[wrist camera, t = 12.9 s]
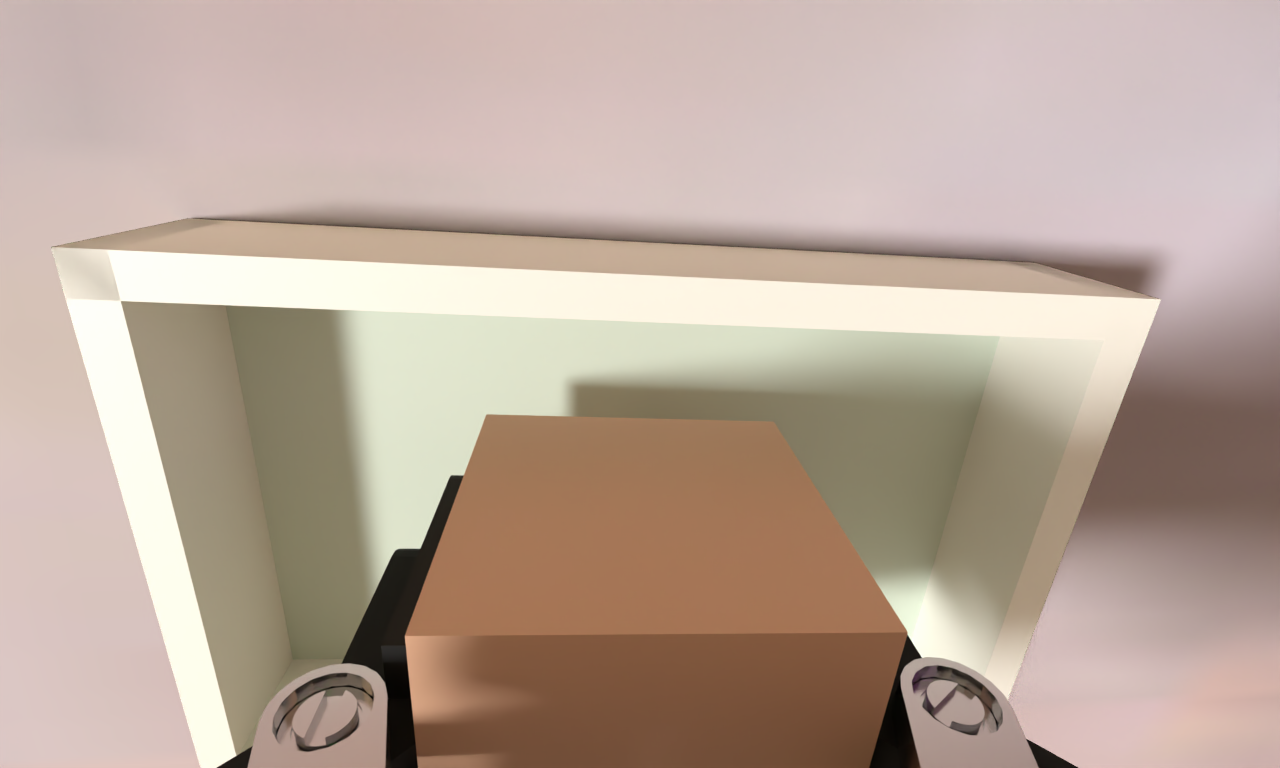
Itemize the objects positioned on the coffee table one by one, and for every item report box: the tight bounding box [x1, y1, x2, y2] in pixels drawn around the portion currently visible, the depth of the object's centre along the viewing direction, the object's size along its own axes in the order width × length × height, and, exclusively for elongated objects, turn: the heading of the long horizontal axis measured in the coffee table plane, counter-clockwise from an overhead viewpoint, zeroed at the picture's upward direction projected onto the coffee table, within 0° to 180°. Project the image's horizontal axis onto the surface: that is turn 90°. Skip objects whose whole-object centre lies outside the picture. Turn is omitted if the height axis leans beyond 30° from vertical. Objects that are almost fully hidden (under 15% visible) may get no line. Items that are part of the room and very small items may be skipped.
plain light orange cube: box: [405, 414, 908, 768], centre depth 9 cm, size 5×5×5 cm
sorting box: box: [51, 218, 1161, 768], centre depth 14 cm, size 20×16×3 cm
